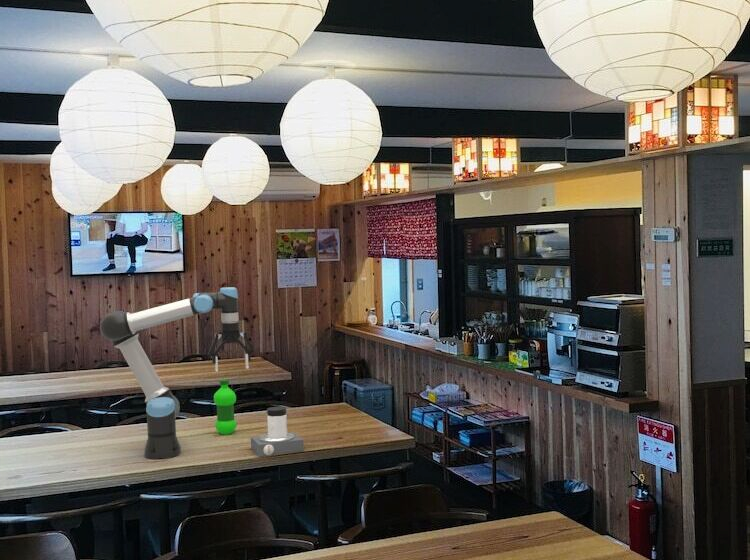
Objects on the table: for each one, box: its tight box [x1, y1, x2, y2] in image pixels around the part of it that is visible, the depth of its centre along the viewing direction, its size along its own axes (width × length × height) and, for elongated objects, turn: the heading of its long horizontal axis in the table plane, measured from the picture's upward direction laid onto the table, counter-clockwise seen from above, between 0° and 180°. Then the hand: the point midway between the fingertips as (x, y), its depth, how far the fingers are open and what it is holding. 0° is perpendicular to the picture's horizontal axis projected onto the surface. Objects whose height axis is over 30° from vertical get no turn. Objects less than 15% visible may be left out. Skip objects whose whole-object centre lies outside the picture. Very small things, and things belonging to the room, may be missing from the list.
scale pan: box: [258, 432, 294, 443], centre depth 348 cm, size 15×15×1 cm
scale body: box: [250, 431, 304, 458], centre depth 348 cm, size 19×17×5 cm
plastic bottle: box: [213, 379, 237, 435], centre depth 381 cm, size 10×10×25 cm
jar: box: [266, 406, 288, 439], centre depth 348 cm, size 9×8×12 cm
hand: (231, 369), depth 361 cm, fingers open, 13 cm apart
